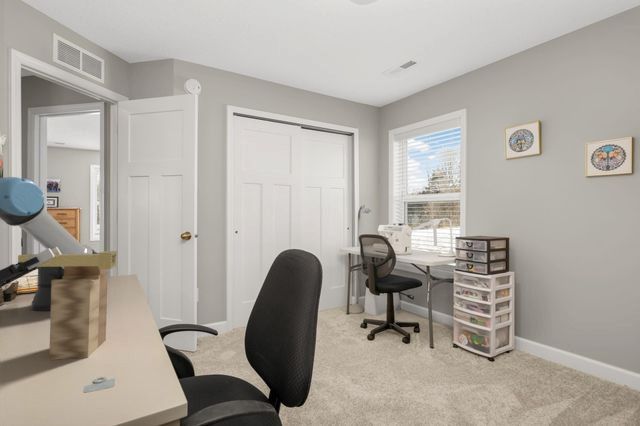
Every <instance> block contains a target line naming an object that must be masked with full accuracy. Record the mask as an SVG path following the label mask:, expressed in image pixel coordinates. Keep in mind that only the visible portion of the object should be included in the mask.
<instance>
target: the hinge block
mask: <svg viewBox="0 0 640 426" xmlns="http://www.w3.org/2000/svg"><path fill="white" fill-rule="evenodd" d="M108 273H109V271H108V269H98V266H64V276H62V279H60V280H52V285H51V310H50V319H49V320H50V323H49V324H50V326H49V352H48V353H49V354H48V356H49V357H48V359H49V361H52V360H53V361H55V360H66V359H67V360H68V359H70V360H71V359H81V358H83V359H84V358H89V357H90V356H91V355H92V354H93V353H94V352H95V351H96V350H97V349H98V348H99V347H100V346H101V345H102V344H104V342H106V339H107V338H106V337H107V310H108V309H107V306H108V304H107V303H108V275H109V274H108Z"/></svg>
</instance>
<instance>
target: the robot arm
mask: <svg viewBox="0 0 640 426" xmlns="http://www.w3.org/2000/svg"><path fill="white" fill-rule="evenodd" d="M43 195H44V193H43V190H42V188H41V187H40V186H39V185H38V184H37V183H36V182H33V180H30V179H28V178H23V177H22V178H21V177H16V176H7V177H5V176H4V177H2V176H1V177H0V220H2V221H3V222H5V223H6V225H9V226H11V227H17V226H18V227H19V228H20V229H22V230H23V231H24V232H25V233H26V234H28V235H29V236H30V237H31V238H32V239H34V240H35V241H36V242H37V243H38V244H40V245H41V246H43V247H44V248H45V250H43V251H41V252H38V253H35V254H36V255H34V256H32V257H30V258H28V259H26V260H24V261H23V262H24V263H22V262H18V261H17V263H16V264H15V263H12V264H10V265H8V266H6V267H4V268H1V269H0V289H2V288H3V287H4V286H6V285H9V284H12V283H13V282H14V281H16V280H17V279H19V278H22V277H23V276H25V275H28V274H30V273H31V272H34V271H35V270H37V289H36V291H35V293H34V297H33V299H32V301H31V307H30V309H31V310H32V311H33V310H34V311H51V285H52V280H60V279H62V276H64V266H58V267H36V266H38V265H40V264H42V263H44V262H46V261H48V260H50V259H52V258H54V257H55V255H54V254H99V253H100V252H96V251H95V250H94V249H93V248H91V246H89V245H87V244H81V242H79V241H78V239H76V238H75V237H74V236H73V235H72V234H71V233H70V232H69V231H68V230H67V229H66V228H65V227H63V226H62V225H61V224H60V222H59V221H57V220H56V219H55V217H53V216H52V215H51V214H50V213H49V212H48V211H47V210H46V209H45V207H46V205H45V204H46V203H45V197H44V196H43ZM109 271H110V269H108V272H109Z"/></svg>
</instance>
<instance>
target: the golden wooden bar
mask: <svg viewBox="0 0 640 426" xmlns="http://www.w3.org/2000/svg"><path fill="white" fill-rule="evenodd" d="M98 253H99V254H54V255H55V257H54V258H52V259H50V260H48V261H46V262H44V263H42V264H40V265H38V266H36V267H58V266H98V269H109V270H112V269H114V268H116V267H117V257H118V255H117V254H118V251H116V250H105V251H100V252H98ZM36 254H37V253H34V254H32V253H31V254H30V253H26V254H19V255H17V263H18V262H22V263H24V262H23V261H24V260H26V259H28V258H30V257H32V256H34V255H36Z"/></svg>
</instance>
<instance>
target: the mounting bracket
mask: <svg viewBox="0 0 640 426" xmlns="http://www.w3.org/2000/svg"><path fill="white" fill-rule="evenodd" d="M115 385H116V378H115V377H114V378H110V379H108V378H107V377H106V376H101V377H96V378H95V379H93V381H92V384H88V385H85V386H83V390H82V392H83V393H85V394H86V393H91V392H96V391H100V390H104V389H105V390H107V389H111V388H114V387H115Z"/></svg>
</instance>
